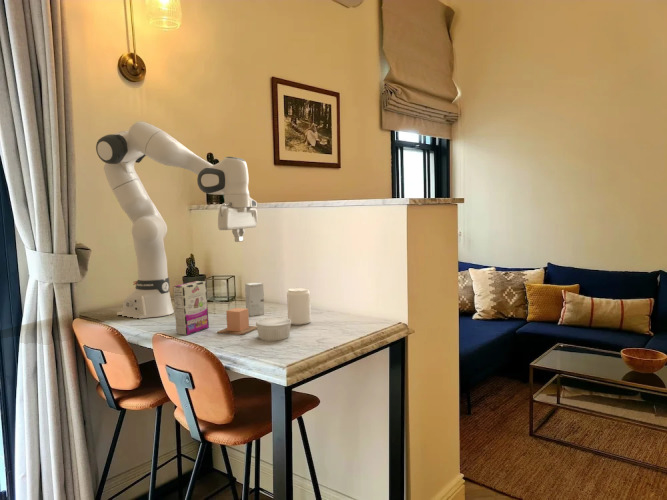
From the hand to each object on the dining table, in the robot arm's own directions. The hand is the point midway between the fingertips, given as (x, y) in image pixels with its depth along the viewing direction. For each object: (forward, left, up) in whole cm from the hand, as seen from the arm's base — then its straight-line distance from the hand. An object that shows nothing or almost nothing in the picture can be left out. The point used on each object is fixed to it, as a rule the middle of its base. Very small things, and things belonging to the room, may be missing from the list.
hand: (239, 241), depth 183 cm
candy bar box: (-9, -17, -29) cm, 35 cm away
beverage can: (+21, +4, -29) cm, 36 cm away
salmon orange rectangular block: (+6, -12, -29) cm, 32 cm away
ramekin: (+22, -16, -30) cm, 40 cm away
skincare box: (-2, +12, -29) cm, 32 cm away
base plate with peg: (+6, -12, -29) cm, 32 cm away
